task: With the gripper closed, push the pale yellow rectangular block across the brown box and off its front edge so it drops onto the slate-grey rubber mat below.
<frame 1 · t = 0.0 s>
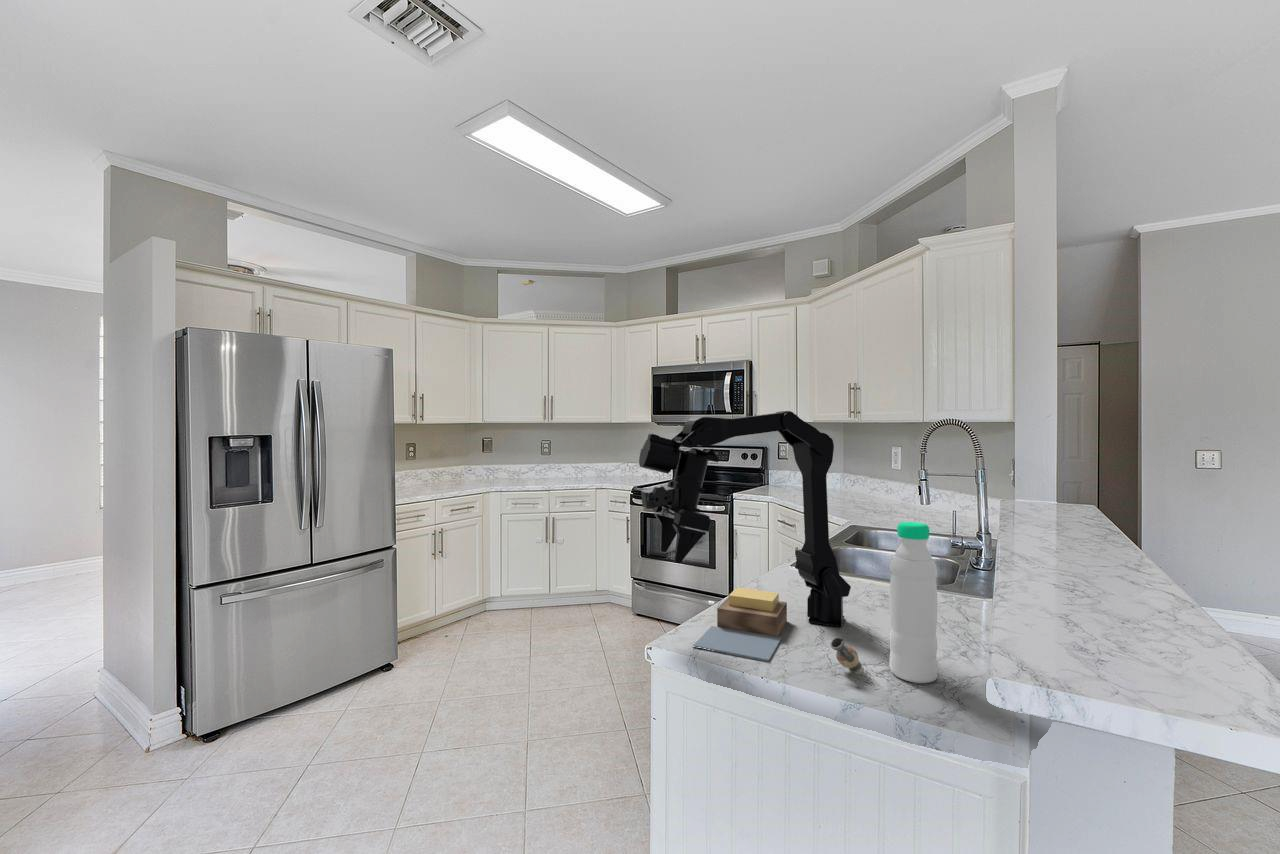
hand: (669, 556, 106), 15 cm above the counter, tool pointing down, fingers open, 9 cm apart
brown box: (752, 624, 112), on the counter
pale yellow rectangular block: (753, 603, 113), point 4 cm above the counter, touching brown box
mat: (738, 643, 102), on the counter
water bottle: (913, 676, 89), on the counter
vase: (846, 674, 90), on the counter
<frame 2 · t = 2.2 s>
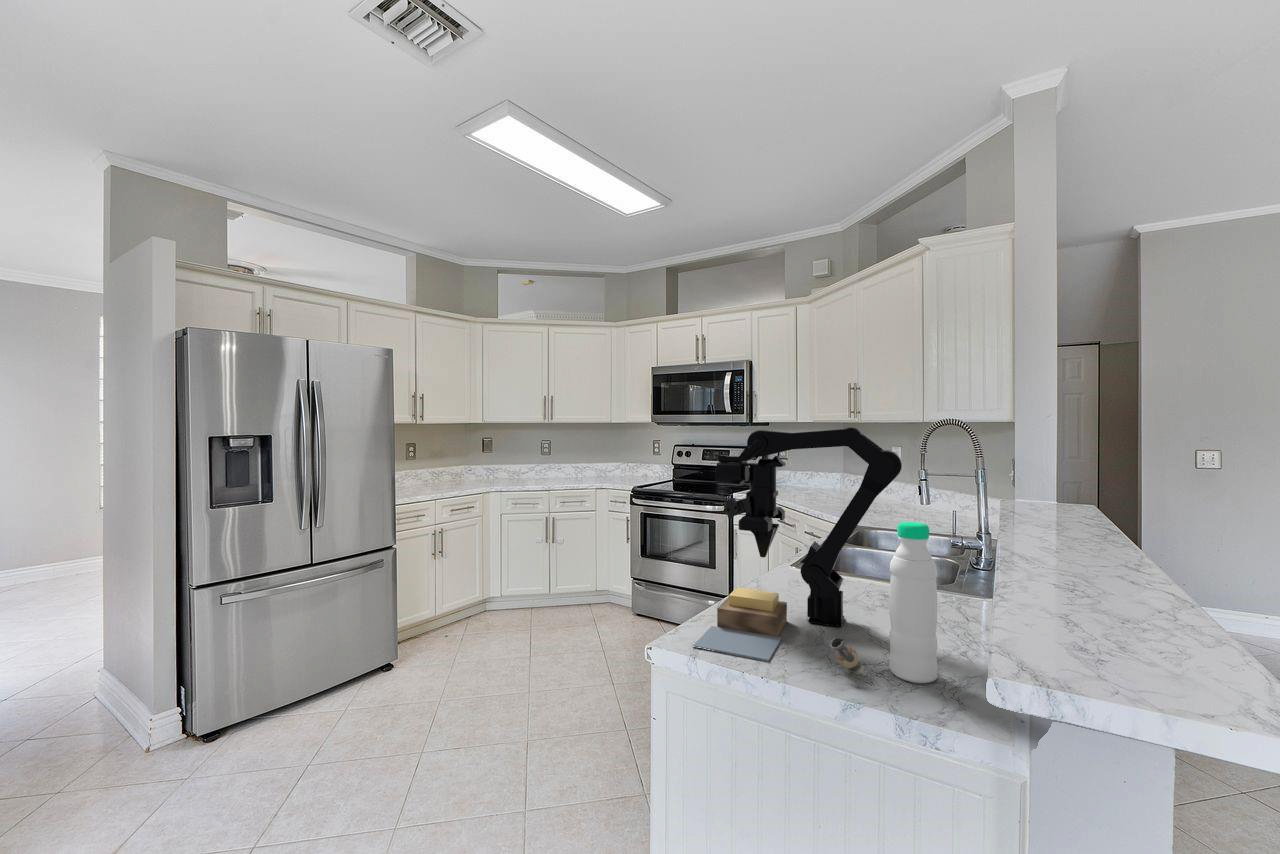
hand: (763, 557, 120), 12 cm above the counter, tool pointing down, fingers closed
nothing on the counter moved.
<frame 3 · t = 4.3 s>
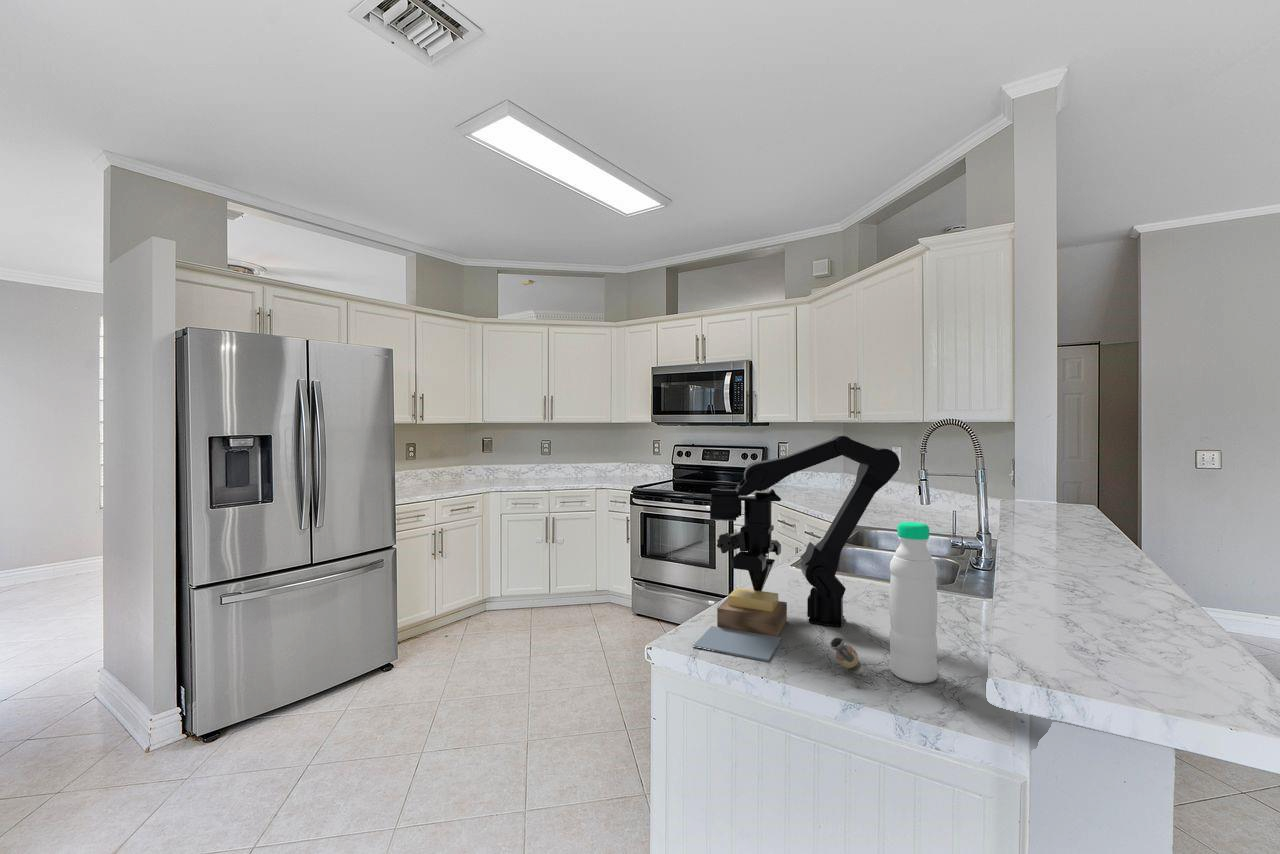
hand: (757, 594, 116), 5 cm above the counter, tool pointing down, fingers closed
pale yellow rectangular block: (753, 604, 113), point 4 cm above the counter, touching brown box, gripper
everything else where it was.
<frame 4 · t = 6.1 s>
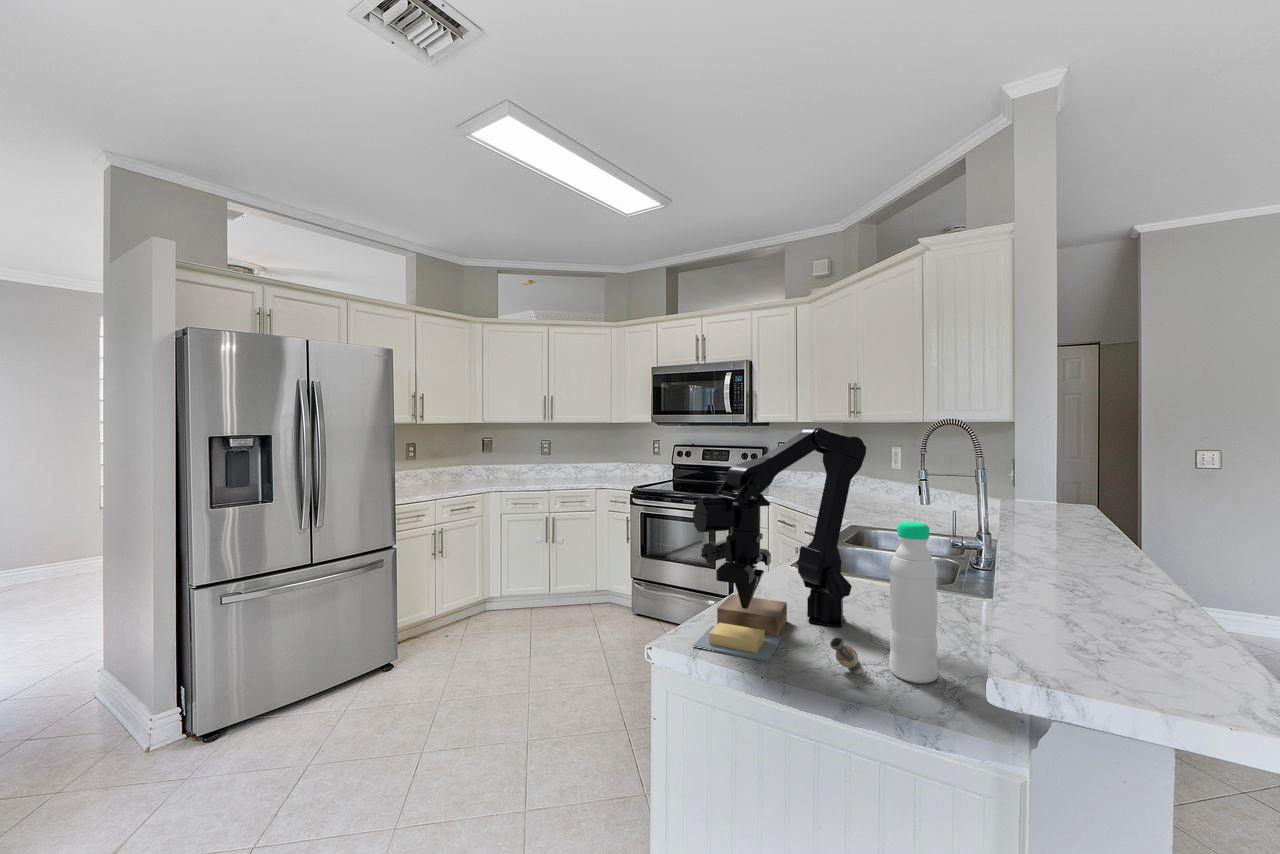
hand: (745, 607, 107), 5 cm above the counter, tool pointing down, fingers closed
pale yellow rectangular block: (737, 631, 102), point 2 cm above the counter, tilted 180°, touching mat
everything else where it was.
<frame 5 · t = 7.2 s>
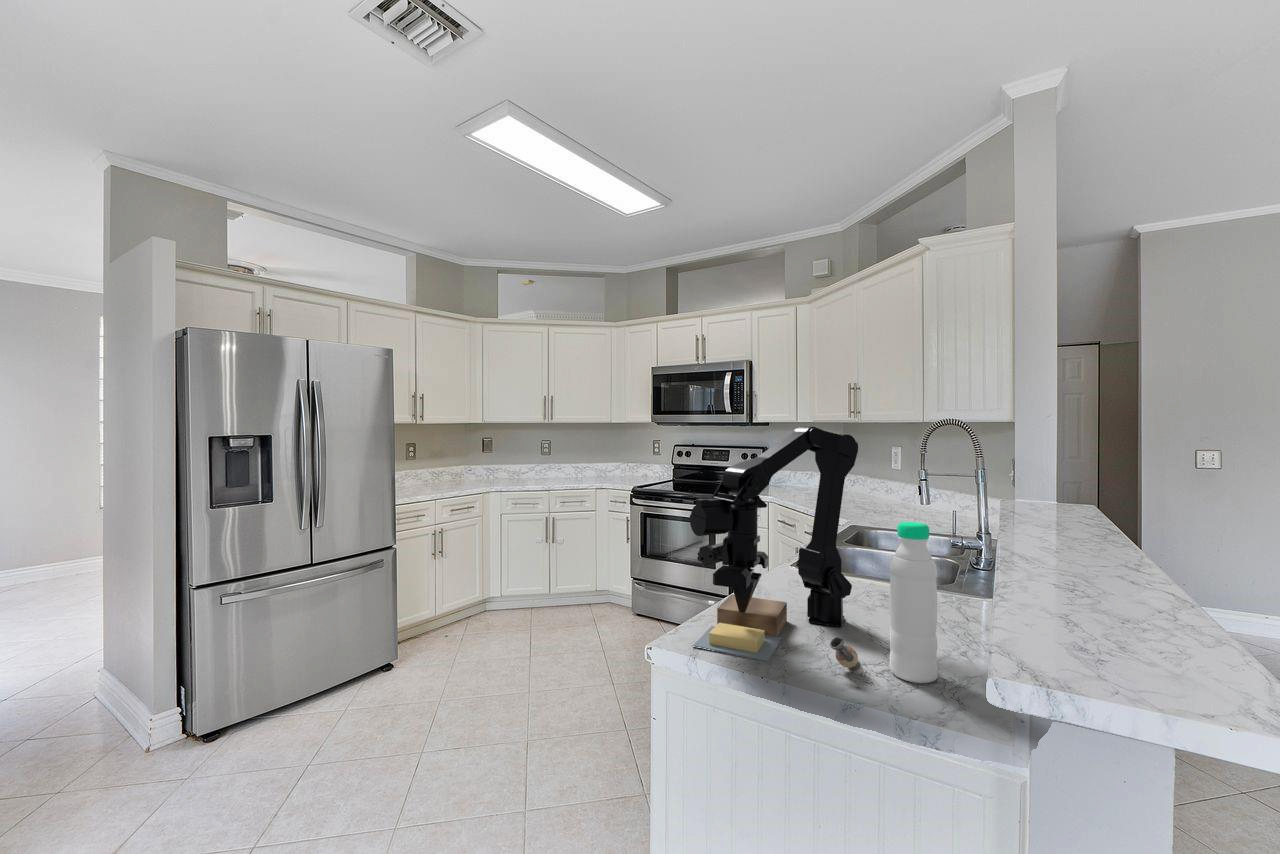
hand: (742, 612, 105), 5 cm above the counter, tool pointing down, fingers closed
nothing on the counter moved.
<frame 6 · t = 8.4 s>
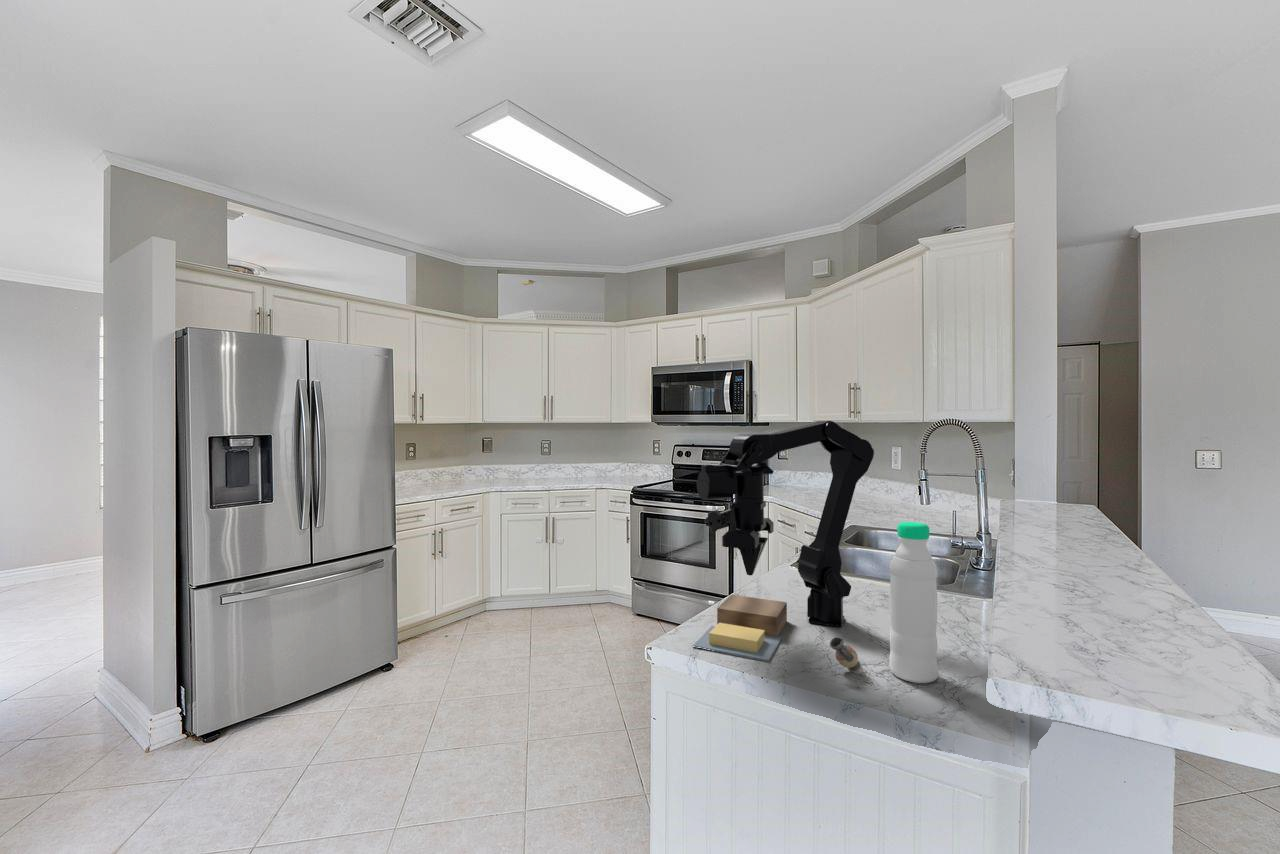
hand: (750, 574, 109), 11 cm above the counter, tool pointing down, fingers closed
nothing on the counter moved.
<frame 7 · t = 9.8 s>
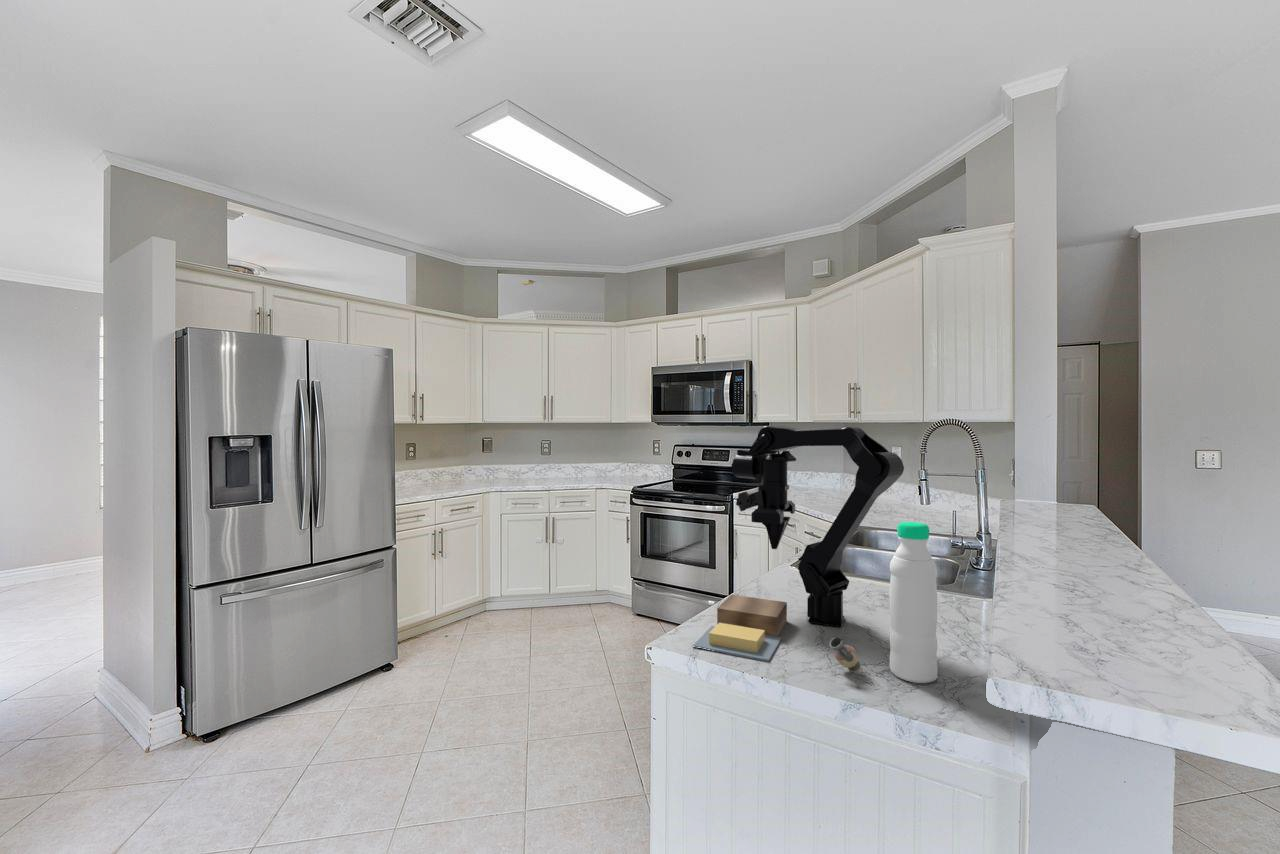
hand: (774, 548, 124), 13 cm above the counter, tool pointing down, fingers closed
nothing on the counter moved.
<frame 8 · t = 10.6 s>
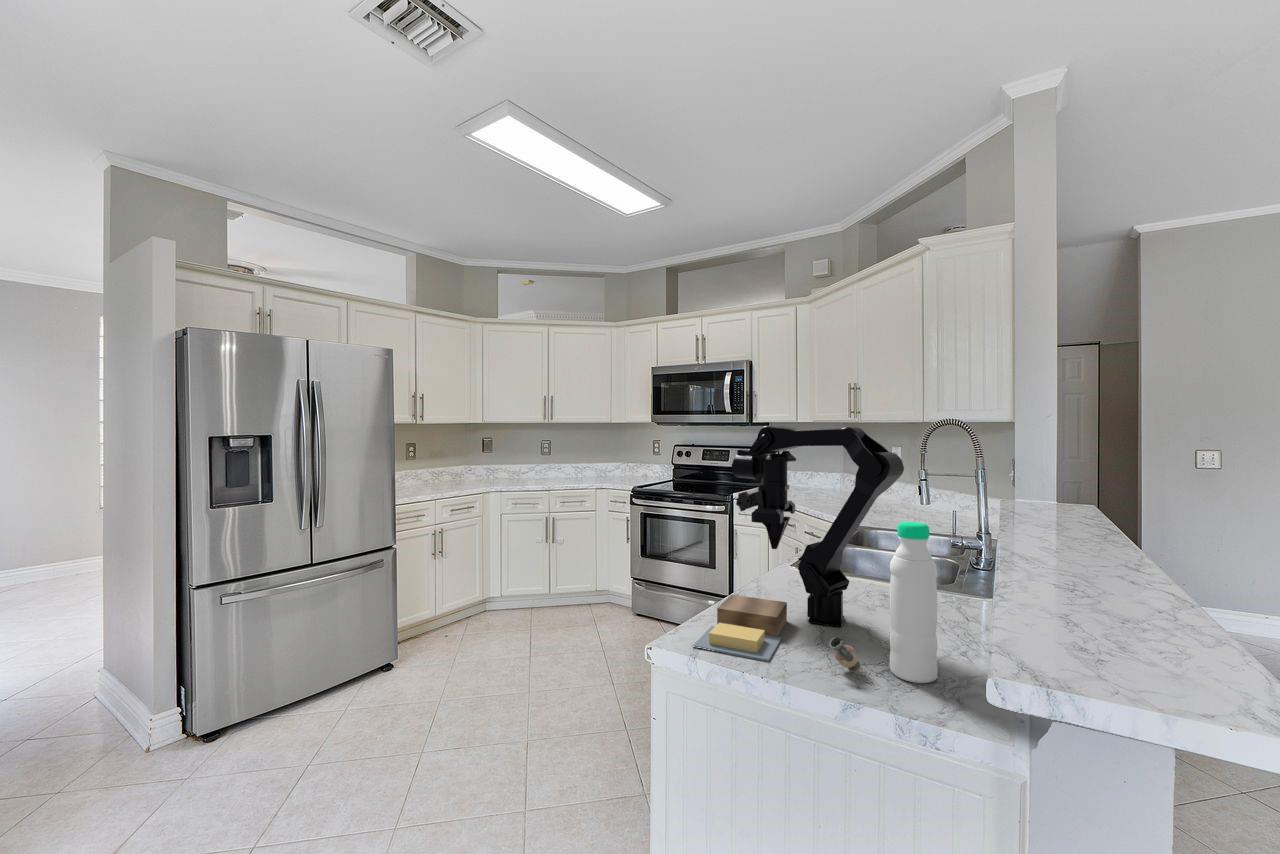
hand: (774, 548, 124), 13 cm above the counter, tool pointing down, fingers closed
nothing on the counter moved.
at the end: pale yellow rectangular block inside the target area on the mat (0.2 cm from its centre), point 2.4 cm above the mat's base; pale yellow rectangular block touching mat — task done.
